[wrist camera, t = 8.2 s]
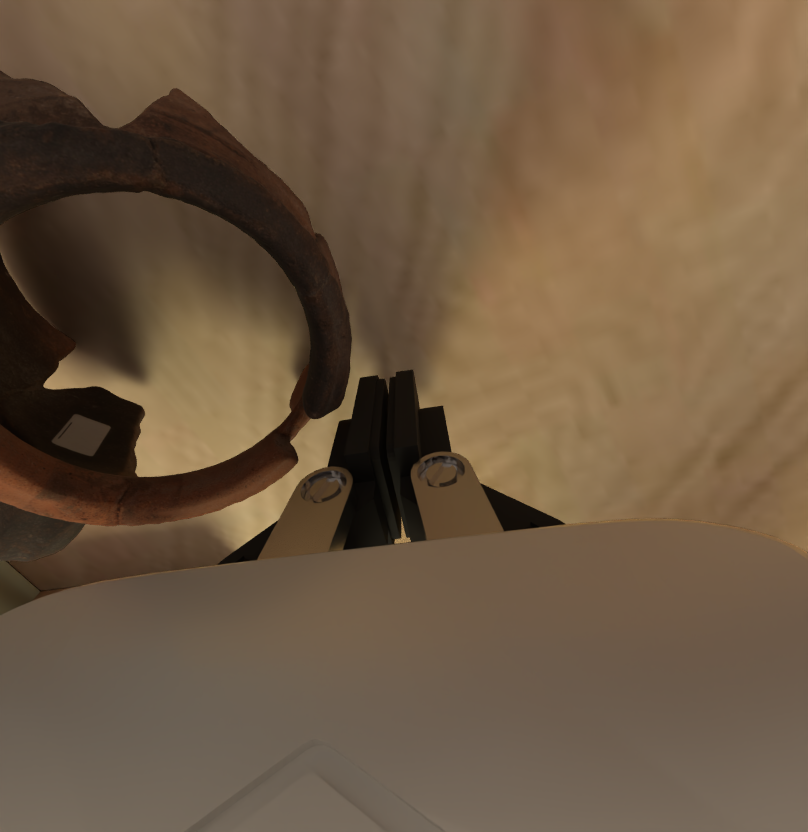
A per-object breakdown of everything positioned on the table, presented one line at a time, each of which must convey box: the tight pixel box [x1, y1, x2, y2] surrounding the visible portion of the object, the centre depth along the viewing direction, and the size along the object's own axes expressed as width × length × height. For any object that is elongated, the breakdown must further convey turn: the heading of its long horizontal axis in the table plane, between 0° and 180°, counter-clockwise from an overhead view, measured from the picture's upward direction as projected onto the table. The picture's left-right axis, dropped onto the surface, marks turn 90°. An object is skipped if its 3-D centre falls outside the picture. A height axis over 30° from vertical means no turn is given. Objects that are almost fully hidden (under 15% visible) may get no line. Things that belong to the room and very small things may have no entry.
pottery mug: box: [0, 71, 352, 562], centre depth 10 cm, size 12×10×8 cm
